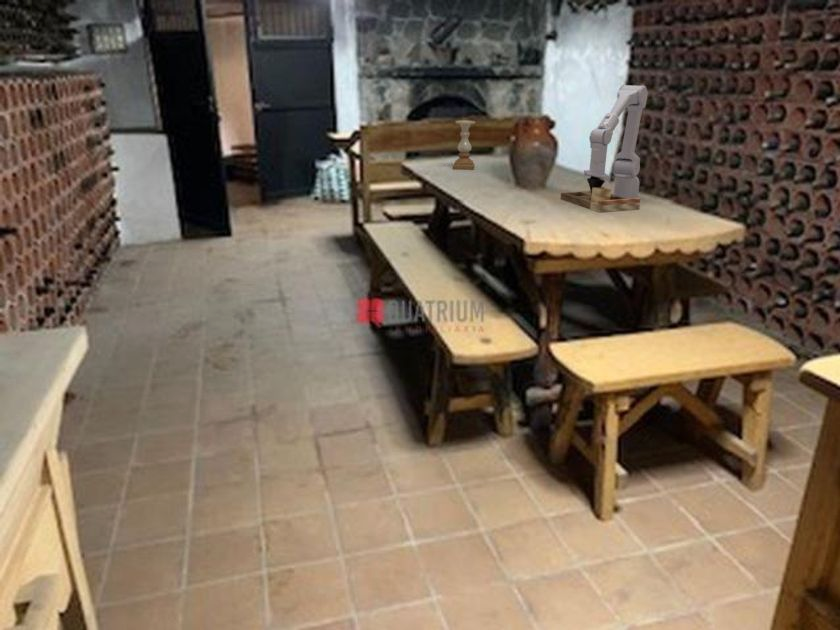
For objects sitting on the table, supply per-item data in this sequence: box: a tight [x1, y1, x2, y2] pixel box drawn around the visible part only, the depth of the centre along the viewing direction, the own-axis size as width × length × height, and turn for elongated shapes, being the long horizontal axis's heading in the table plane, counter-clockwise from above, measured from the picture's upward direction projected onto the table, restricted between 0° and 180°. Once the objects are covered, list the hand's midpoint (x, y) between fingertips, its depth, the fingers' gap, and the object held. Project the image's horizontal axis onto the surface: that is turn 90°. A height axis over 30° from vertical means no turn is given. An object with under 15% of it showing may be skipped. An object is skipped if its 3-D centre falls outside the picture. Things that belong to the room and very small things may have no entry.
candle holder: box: [452, 119, 476, 171], centre depth 340 cm, size 11×11×24 cm
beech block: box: [591, 186, 612, 203], centre depth 249 cm, size 5×5×5 cm
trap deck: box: [560, 190, 641, 213], centre depth 257 cm, size 18×27×4 cm, turn 20°
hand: (594, 196), depth 253 cm, fingers closed
